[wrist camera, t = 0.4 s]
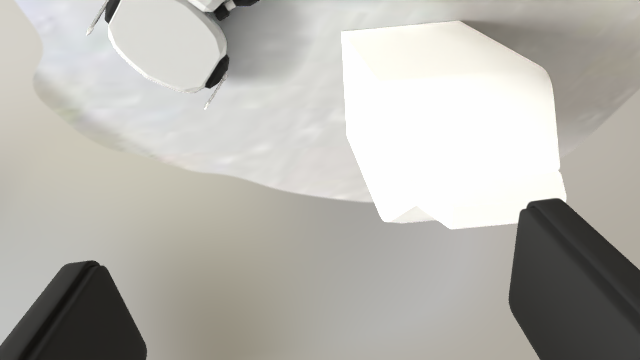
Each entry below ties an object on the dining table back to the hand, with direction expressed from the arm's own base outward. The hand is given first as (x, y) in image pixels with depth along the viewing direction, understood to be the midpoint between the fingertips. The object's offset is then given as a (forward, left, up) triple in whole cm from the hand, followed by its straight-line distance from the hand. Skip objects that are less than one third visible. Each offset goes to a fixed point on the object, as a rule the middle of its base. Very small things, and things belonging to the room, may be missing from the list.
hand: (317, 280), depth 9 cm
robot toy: (-9, -6, -36) cm, 38 cm away
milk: (+11, +4, -36) cm, 38 cm away
